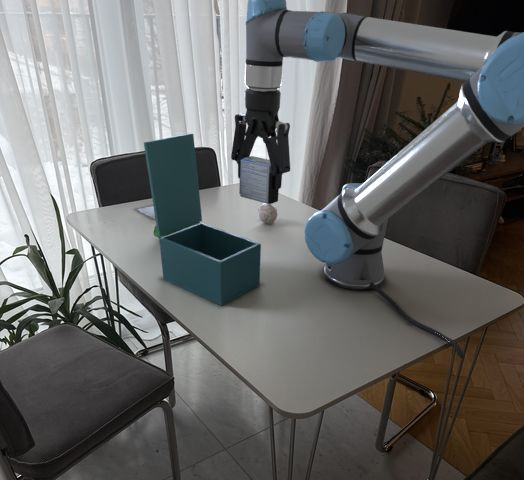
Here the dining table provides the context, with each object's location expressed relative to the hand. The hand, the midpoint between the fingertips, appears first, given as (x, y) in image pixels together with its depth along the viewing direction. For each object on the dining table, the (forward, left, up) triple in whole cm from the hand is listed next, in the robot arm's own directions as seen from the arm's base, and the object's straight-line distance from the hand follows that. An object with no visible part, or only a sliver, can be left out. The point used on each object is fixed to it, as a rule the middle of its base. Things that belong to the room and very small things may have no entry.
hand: (258, 197), depth 111 cm
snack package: (+31, -2, -20) cm, 36 cm away
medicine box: (0, 0, 0) cm, 0 cm away
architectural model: (+52, -15, -20) cm, 57 cm away
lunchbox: (+5, +12, -19) cm, 23 cm away
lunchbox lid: (+15, +12, +2) cm, 19 cm away
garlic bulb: (+20, -30, -20) cm, 41 cm away
